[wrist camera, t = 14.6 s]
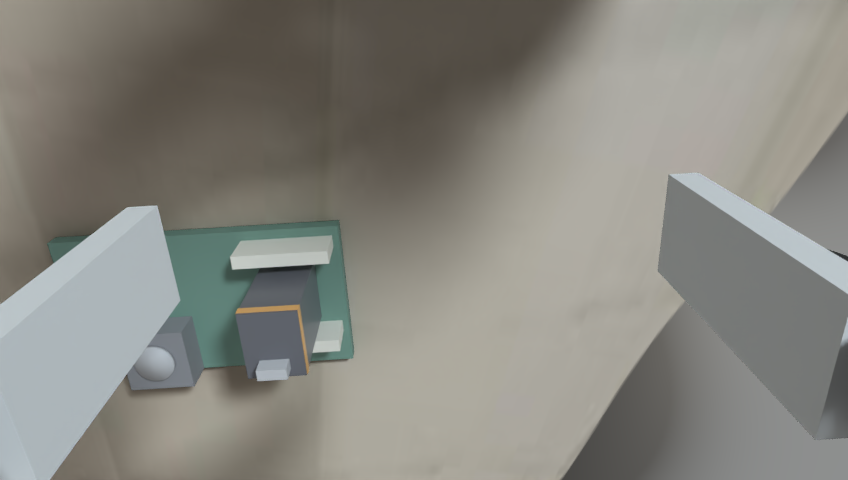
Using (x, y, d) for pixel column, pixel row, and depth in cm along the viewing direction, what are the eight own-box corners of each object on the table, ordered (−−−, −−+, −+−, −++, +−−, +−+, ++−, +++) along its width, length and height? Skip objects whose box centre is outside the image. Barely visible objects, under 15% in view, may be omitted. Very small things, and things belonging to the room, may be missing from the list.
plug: (261, 262, 45) (229, 323, 37) (314, 259, 45) (294, 320, 37) (271, 319, 47) (243, 390, 39) (322, 316, 47) (304, 386, 39)
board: (55, 237, 45) (23, 259, 41) (339, 220, 45) (333, 241, 42) (97, 366, 50) (71, 397, 46) (354, 350, 50) (350, 380, 46)
